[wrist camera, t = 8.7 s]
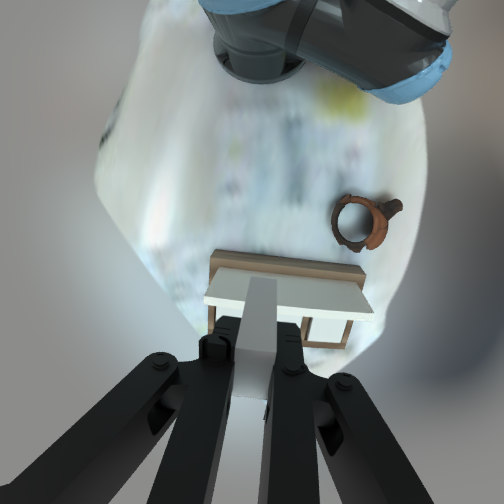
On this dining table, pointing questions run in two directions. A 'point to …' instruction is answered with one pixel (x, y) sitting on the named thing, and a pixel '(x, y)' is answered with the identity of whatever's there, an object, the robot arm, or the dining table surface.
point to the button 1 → (228, 312)
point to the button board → (287, 268)
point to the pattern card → (293, 295)
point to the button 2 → (325, 329)
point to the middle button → (290, 319)
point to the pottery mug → (379, 221)
